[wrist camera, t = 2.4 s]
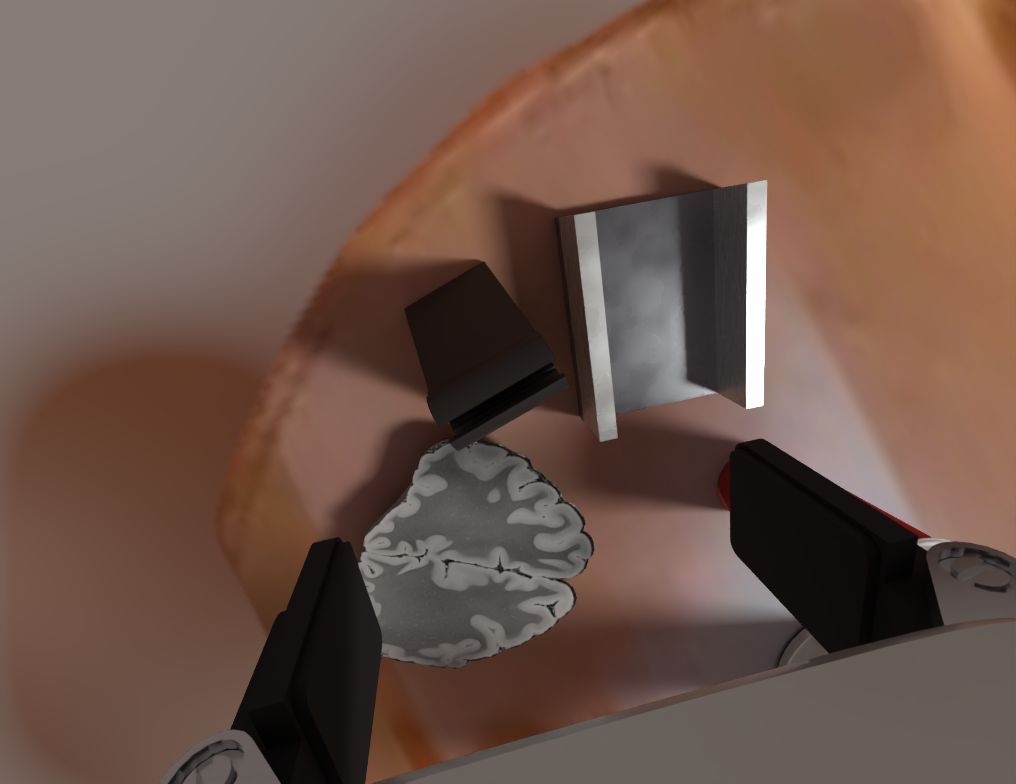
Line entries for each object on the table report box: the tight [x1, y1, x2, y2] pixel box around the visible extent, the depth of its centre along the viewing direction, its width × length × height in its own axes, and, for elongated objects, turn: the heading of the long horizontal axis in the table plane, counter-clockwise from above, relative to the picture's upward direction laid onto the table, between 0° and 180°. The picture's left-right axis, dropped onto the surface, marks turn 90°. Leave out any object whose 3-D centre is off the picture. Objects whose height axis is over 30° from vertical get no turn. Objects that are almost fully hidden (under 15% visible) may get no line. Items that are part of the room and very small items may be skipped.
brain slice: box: [358, 438, 594, 669], centre depth 36 cm, size 20×17×3 cm
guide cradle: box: [555, 180, 767, 442], centre depth 31 cm, size 11×14×4 cm
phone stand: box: [404, 262, 569, 451], centre depth 26 cm, size 9×6×12 cm, turn 29°
